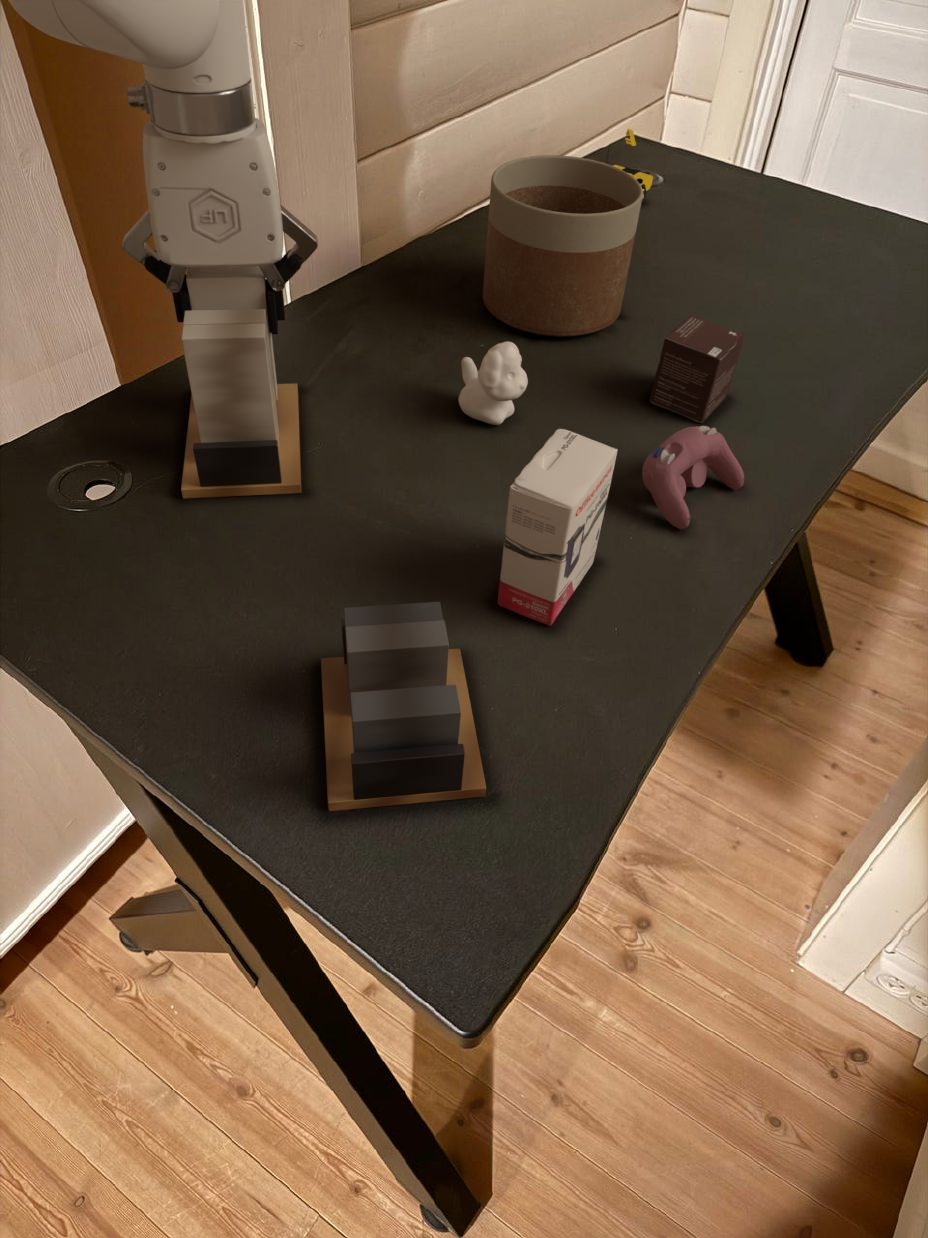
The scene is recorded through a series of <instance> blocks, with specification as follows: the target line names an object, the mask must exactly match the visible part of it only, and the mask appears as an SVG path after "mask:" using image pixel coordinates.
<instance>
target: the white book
mask: <svg viewBox="0 0 928 1238" xmlns="http://www.w3.org/2000/svg"><path fill="white" fill-rule="evenodd" d="M186 275H187V276H186V281H187V287H188V292H189V297H190V303H191V309H192V310H245V309H265V310H266V319H267V328H268V337H269V346H270V355H271V364H272V373H273V382H274V390H275V399H276V400H277V384H278V382H277V372H276V371H277V370H276V363H275V354H274V343H273V334H272V333H270V332H269V323H268V314H267V305H266V295H265V291H266V278H265V276H264V274H263V272H262V271H261V269H260V267H259V266H244V267H187V271H186Z"/></svg>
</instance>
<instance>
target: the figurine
mask: <svg viewBox="0 0 928 1238" xmlns="http://www.w3.org/2000/svg"><path fill="white" fill-rule="evenodd" d="M522 361H523V357H522V356H521V354H520V350H519V348H518V346H517V345H516V344H515V343H514V342H512V341H503V342H499V343H497V344H495V345H494V346H492V347H490V348H489V349H488V351H487V352H486V354H485V355H484V357H483V358H482V361H481V364H480V367H479V369H478V368H477V366H476V364H475V362H474V360H473V358H471V357H468V356H465V357H463V358H462V359H461V376H462V380H463V383H464V387H462V388H461V390H460V392H459V395H458V398H457V399H458V405H459V407H460V409H461V410H462V412H463V413H464V414H465V415H467V416H468V417H469V418H472V419H475V420H477V421H481V422H483V423H486V424H489V425H493V426H500V425H501V424H502V423H504V422H505V420H506V419H507V418H509V417H511V416H512V415H514V413H515V405H514V402H513V401H514V400H517V399H519V398H520V397H521V396H522V395H523V394H524V392H525V391H526V390H527V387H528V384H529V379H528V375H527V373H526V371H525V370H524V368H523V367H522Z"/></svg>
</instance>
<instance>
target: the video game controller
mask: <svg viewBox="0 0 928 1238" xmlns="http://www.w3.org/2000/svg"><path fill="white" fill-rule="evenodd" d="M708 468H709V469H710V470H711V471H712V472H713V473H714V475H715V476H716V477H717V478H718V479H719V481H721V482H722V483H723V484H724V485H725V486H726V487H728V488H730V489H732V490H735V491H737V490H739V489H741V488H742V487H743V486H744V483H745V474H744V470H743V468H742V466H741V464H740V462H739V461H738V460H737V457H735V455H734V453H733V452H732V450H731V448H730V447H729V445H728V443H727V441H726V439H725V437H724V435H723V434H722V433H720V432H719V431H717V428H716V427H709V426H708V425H701V426H699V425H698V426H697V425H696V426H687V427H684V428H681V429H680V430H677V431H676V432H674V433H673V434H671V435H670V436H669V437H667V439H665V440H664V441H663V442H662V443H661V444H660V445H659V447H658V448H657V449H656V450H655V451H653V452H651V453H650V454H649V455H648V456H647V457H646V459H645V460H644V461H643V466H642V470H641V471H642V472H641V473H642V481H643V485H644V487H645V488H646V489H647V490H648V491H649V493H650V495H651V497H652V499H653V501H654V503H655V505H656V507H657V509H658V510H659V511H660V513H661V514H662V516H663V518H665V520H666V521H667V522H668V523H669V524H670V525H672V526H673V527H675V528H676V529H679V530H684V529H687V528H688V527H689V526H690V523H691V515H690V511H689V507H688V505H687V503H686V501H685V499H684V497H685V495H686V492H687V488H701V487H702V486H703V485H704V484H705V482H706V479H707V472H708Z"/></svg>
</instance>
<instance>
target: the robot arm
mask: <svg viewBox="0 0 928 1238" xmlns="http://www.w3.org/2000/svg"><path fill="white" fill-rule="evenodd" d="M7 1H8V3H9V4H10V5H11V6H12V8H13V9H14V11H15V12H16V13H17V14H18V15H19V16H20V17H21V18H22V19H24V20H25V21H26V22H27V23H28V24H30V25H31V26H33V27H34V28H35V29H37V30H39V31H41V32H42V33H44V34H46V35H48V36H49V37H53V38H55V39H58V40H60V41H63V42H66V43H69V44H73V45H77V46H80V47H83V48H86V49H90V50H94V51H97V52H102V53H106V54H109V55H113V56H115V57H119V58H122V59H125V60H129V61H131V62H135V63H139V64H142V68H143V73H144V80H143V81H142V84H137V85H136V86H127V87H126V96H127V101H128V105H129V107H130V108H138V109H139V108H140V110H141V111H145V112H146V115H149V118H150V119H149V120H147V122H146V124H145V125H144V127H143V130H142V131H143V132H142V133H143V134H142V155H143V170H144V182H145V189H146V197H147V202H148V204H147V205H148V209H147V210H146V211H145V212H144V213H143V214H142V215H141V217H140V218H139V219H138V220H137V221H136V222H135V223H134V225H132V227H131V228H130V229H129V230H128V231H127V232H126V233H125V235H124V236H123V239H122V241H121V247H122V250H124V252H126V253H127V254H128V255H129V256H131V258H133V259H134V260H135V261H137V262H138V263H140V264H141V265H143V266H144V268H145V270H146V271H147V272H148V273H150V274H151V275H152V276H153V277H155V278H156V279H157V280H159V281H160V282H161V283H162V284H164V285H165V287H166V289H167V290H168V292H170V293H172V299H173V305H174V306H173V307H174V310H175V311H174V312H175V316H176V321H177V323H183V322H184V315H185V311H192V309H191V303H190V297H189V292H188V287H187V281H186V276H187V269H188V267H244V266H259V267H260V269H261V271H262V272H263V274H264V276H265V278H266V291H265V295H266V305H267V314H268V323H269V332H270V333H272V335H279V321H286V310H285V300H284V289H285V287H286V284H287V283H288V282H289V281H290V280H291V279H292V278H293V277H294V276H295V275H296V274H297V272H299V270H300V269H301V268H302V265H303V264H304V263H306V262H307V260H308V259H309V258H310V257H311V256H312V255H313V254H314V252H316V251H317V249H318V246H319V242H318V236H317V235H316V234H315V232H313V230H311V229H309V228H308V226H306V225H305V224H304V223H303V222H302V221H300V220H299V219H298V218H297V217H296V216H295V215H294V214H292V213H291V212H290V210H288V209H287V208H286V207H284V205H282V204H281V197H280V190H279V183H278V177H277V171H276V166H275V160H274V156H273V151H272V148H271V143H270V140H269V137H268V133H267V130H266V127H265V124H264V122H263V121H262V120H261V119H259V118H257V117H256V113H255V102H254V92H253V82H252V74H251V72H252V71H251V65H250V53H249V46H248V45H249V44H248V36H247V26H246V16H245V5H244V0H7ZM284 233H285V235H287V236H288V237H289V238H290V239H292V240H293V241H294V242H295V243H294V245H293V247H292V248H291V249H289V250H288V251H286V252H285V254H284V255H283V252H284ZM151 237H152V238H153V244H154V248H155V249H152V248H151V246H150V245H149V244H148V243H147V241H148V240H149V239H150V238H151Z"/></svg>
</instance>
